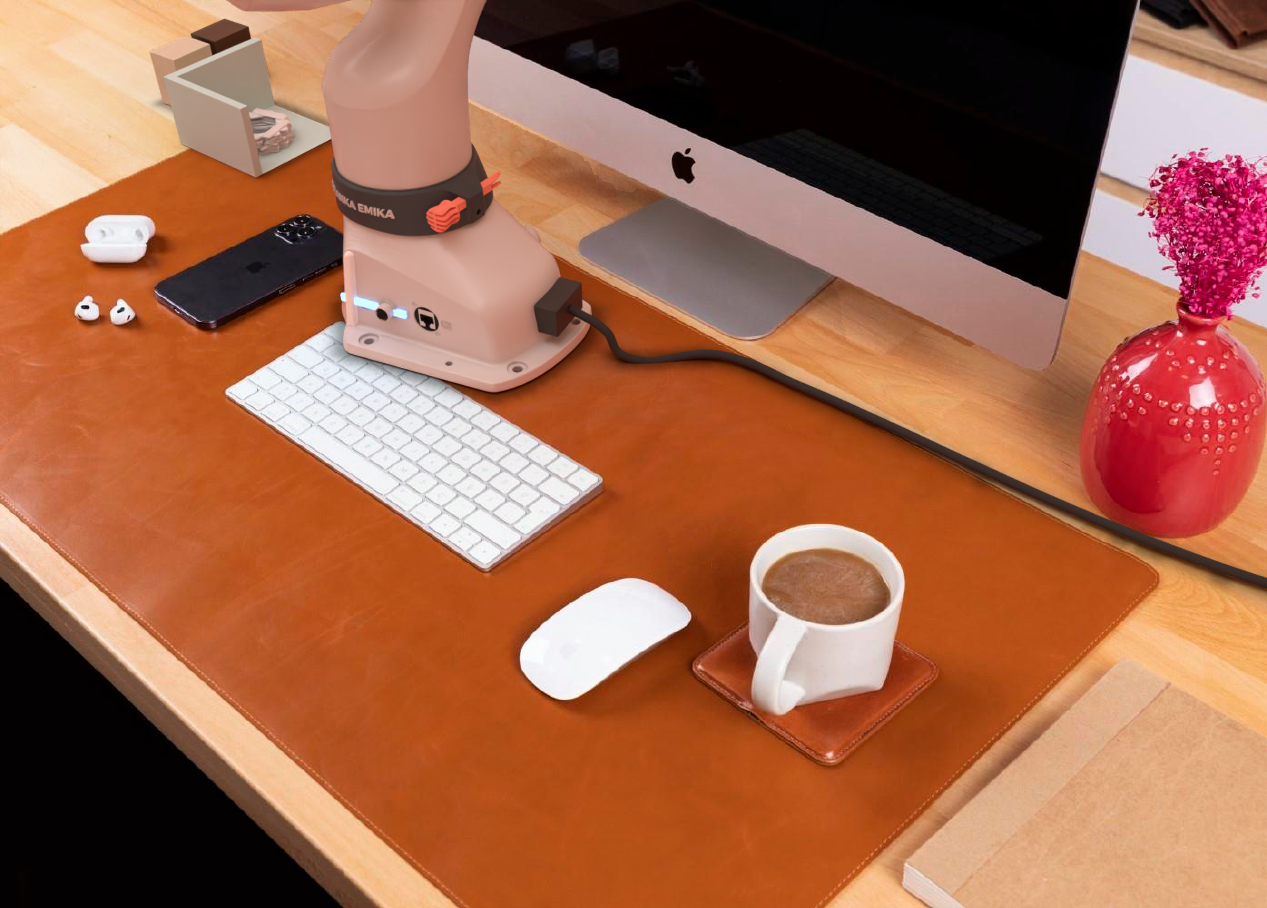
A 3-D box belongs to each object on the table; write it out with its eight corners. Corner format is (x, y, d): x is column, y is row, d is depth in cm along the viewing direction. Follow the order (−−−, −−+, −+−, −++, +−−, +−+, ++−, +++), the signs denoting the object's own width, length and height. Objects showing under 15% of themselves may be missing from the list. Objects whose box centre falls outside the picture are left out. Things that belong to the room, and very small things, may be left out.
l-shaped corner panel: (255, 177, 129) (240, 109, 124) (180, 143, 135) (163, 76, 130) (343, 132, 136) (331, 66, 131) (268, 102, 142) (254, 37, 137)
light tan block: (221, 95, 143) (209, 43, 139) (187, 111, 140) (173, 60, 136) (197, 86, 145) (185, 35, 141) (162, 102, 142) (149, 51, 138)
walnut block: (259, 76, 147) (248, 26, 143) (226, 92, 144) (214, 41, 140) (235, 68, 148) (224, 17, 144) (202, 83, 145) (190, 33, 141)
